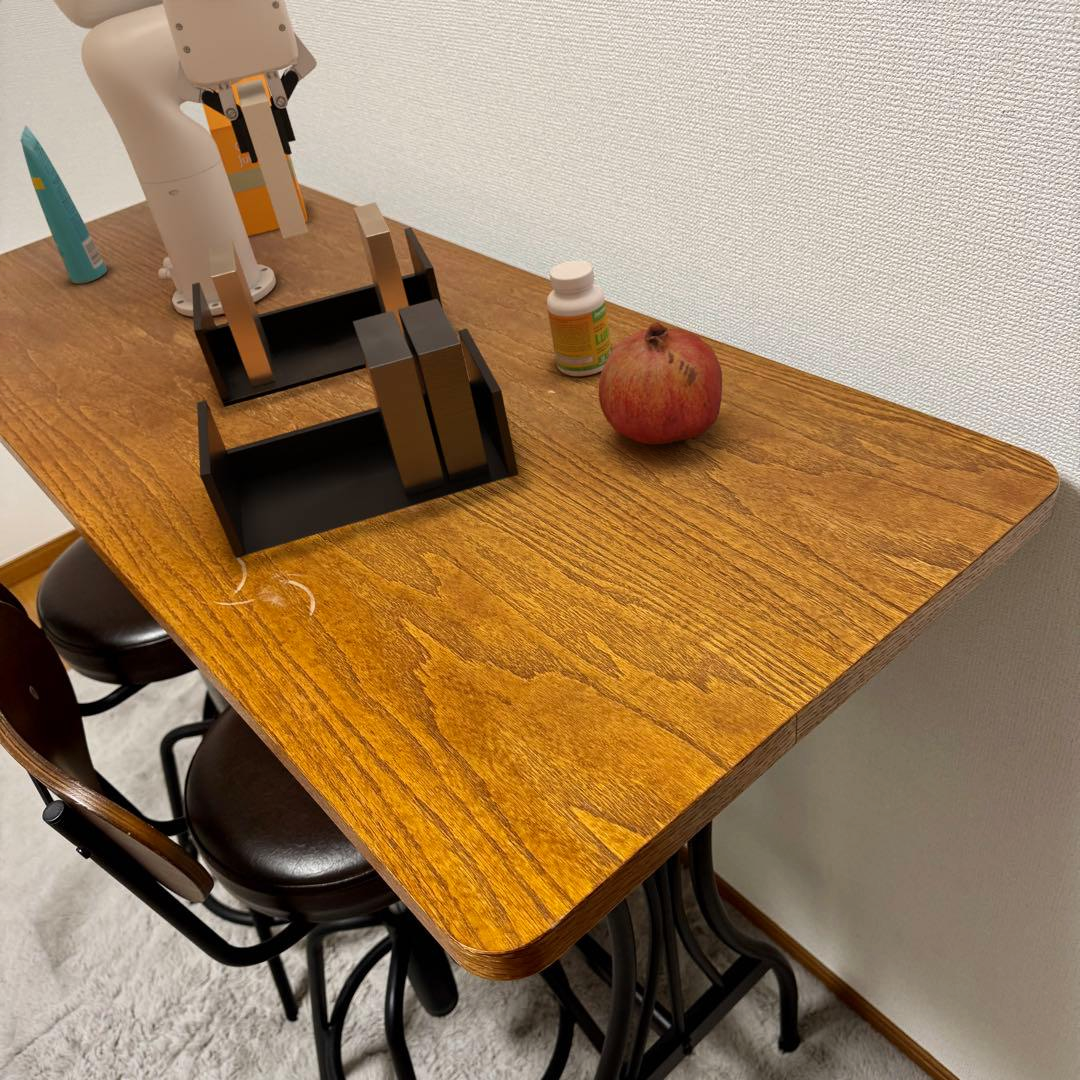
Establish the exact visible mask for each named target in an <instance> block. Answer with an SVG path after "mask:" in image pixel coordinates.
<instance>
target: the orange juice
mask: <svg viewBox="0 0 1080 1080" xmlns="http://www.w3.org/2000/svg"><path fill="white" fill-rule="evenodd" d="M258 79H262V82H263V85H264V89H265V92H266V95H267V98H268V101H269V105H270V106H272V105H271V102H270V98H271V96H272V95H271V92H270V89H269V86H268V83H267V80H266V78H265V75H264V74H261V75H257V76H252V77H248V78H244V79H242V80H241V81H239V82H237V83H235V84H233V85H231V86H232V90H233V94H234V97H235V101H236V104H237V105H239V106H240V107H241V104H240V100H239V95H238V91H237V86H236V85H237V84H241V83H245V82H249V81H254V80H258ZM216 92H218V90H216ZM201 105H202V108H203V111H204V115H205V118H206V122H207V125H208V126H207V127H208V130H209V133H210V135H211V136H212V137H213V139H214V141H215V143H216V145H217V148H218V150H219V153H220V156H221V160H222V162H223V165H224V168H225V171H226V174H227V177H228V180H229V183H230V186H231V189H232V192H233V195H234V198H235V201H236V204H237V207H238V209H239V212H240V215H241V218H242V221H243V224H244V227H245V230H246V233H247V236H248V237H249V236H254V235H258V234H263V233H267V232H271V231H276V230H278V229H279V230H280V227H279V224H278V221H277V218H276V215H275V211H274V208H273V205H272V202H271V199H270V196H269V193H268V190H267V187H266V183H265V180H264V177H263V174H262V171H261V168H260V165H259V162H258V161H257V163H252V161H251V158H250V155H249V152H247V153H243V154H241V152H240V149H239V146H238V142H237V139H236V136H235V133H234V130H233V127H232V124H231V121H230V120H228V119H227V118H226V117H225V116H224V115H222V114H220V113H219V112H217V111H215V110H214V109H212V108H210V107H209V106H207V105H205V104H202V103H201ZM241 110H242V109H241ZM285 157H286V161H287V164H288V167H289V170H290V174H291V177H292V180H293V184H294V187H295V190H296V194H297V197H298V200H299V203H300V207H301V210H302V213H303V217H304V220H305V223H307V222H308V221H309V219H308V215H307V209H306V204H305V200H304V198H303V194H302V192H301V188H300V184H299V180H298V177H297V174H296V171H295V167H294V163H293V160H292V155H291V154H289V155H287V154H285Z"/></svg>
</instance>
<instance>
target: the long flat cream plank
mask: <svg viewBox="0 0 1080 1080" xmlns="http://www.w3.org/2000/svg"><path fill="white" fill-rule="evenodd" d="M236 86H237V91H238V95H239V100H240V104H241V109H242V112H243V115H244V118H245V121H246V124H247V127H248V130H249V134H250V137H251V140H252V143H253V146H254V149H255V152H256V155H257V158H258V162H259V165H260V168H261V171H262V174H263V177H264V180H265V183H266V187H267V190H268V193H269V196H270V199H271V202H272V205H273V208H274V211H275V215H276V218H277V221H278V224H279V227H280V228H279V230H280V233H281V236H282V239H283V240H285V239H289V238H293V237H297V236H300V235H304V234H308V233H309V230H308V227H307V224H306V223H307V222H305V220H304V217H303V213H302V210H301V207H300V203H299V200H298V197H297V194H296V190H295V187H294V184H293V180H292V177H291V174H290V170H289V167H288V164H287V161H286V157H285V154H284V151H283V147H282V144H281V141H280V138H279V134H278V131H277V128H276V124H275V121H274V118H273V115H272V111H271V108H270V105H269V101H268V98H267V95H266V92H265V89H264V85H263V82H262V79H258V80H254V81H249V82H245V83H241V84H237V85H236Z"/></svg>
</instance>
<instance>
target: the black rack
mask: <svg viewBox="0 0 1080 1080" xmlns="http://www.w3.org/2000/svg"><path fill="white" fill-rule="evenodd" d="M442 307H443V306H442ZM442 307H441V305H440V303H439V301H438V299H434V300H431V301H427V302H423V303H420V304H416V305H412V306H408V307H405V308H401V309H398V312H399V316H400V320H401V324H402V328H403V332H404V335H405V338H404V335H403V333H402V331H401V328H400V326H399V324H398V321H397V319H396V317H395V314H394V312H393V311H390V312H386V313H382V314H379V315H375V316H371V317H368V318H364V319H360V320H356V321H353V324H354V327H355V331H356V334H357V337H358V341H359V344H360V348H361V351H362V355H363V358H364V362H365V365H366V368H365V369H366V372H367V375H368V378H369V382H370V387H371V388H372V392H373V395H374V399H375V402H376V407H372V408H369V409H366V410H362V411H359V412H354V413H352V414H348V415H345V416H341V417H337V418H333V419H330V420H326V421H322V422H319V423H316V424H313V425H309V426H305V427H303V428H298V429H295V430H291V431H288V432H284V433H280V434H277V435H273V436H270V437H266V438H263V439H259V440H255V441H252V442H249V443H244V444H241V445H238V446H234V447H231V448H227V447H226V445H225V443H224V441H223V438H222V436H221V433H220V431H219V428H218V426H217V423H216V421H215V418H214V416H213V413H212V410H211V409H210V406H209V403H208V401H207V400H206V399H205V400H201V401H197V402H196V410H197V411H196V413H197V433H198V434H197V435H198V436H197V437H198V439H197V440H198V461H199V476H200V477H199V478H200V480H201V482H202V484H203V486H204V488H205V490H206V493H207V495H208V498H209V500H210V502H211V505H212V507H213V509H214V511H215V514H216V516H217V518H218V521H219V523H220V525H221V528H222V530H223V532H224V534H225V538H226V539H227V542H228V544H229V546H230V548H231V550H232V553H233V555H234V557H235V559H238V558H241V557H245V556H247V555H252V554H255V553H258V552H262V551H265V550H268V549H272V548H276V547H278V546H282V545H285V544H288V543H292V542H295V541H298V540H302V539H306V538H309V537H312V536H316V535H319V534H323V533H325V532H329V531H332V530H336V529H339V528H343V527H347V526H349V525H353V524H357V523H359V522H362V521H366V520H369V519H374V518H377V517H380V516H383V515H387V514H391V513H394V512H397V511H401V510H403V509H408V508H411V507H414V506H417V505H421V504H425V503H428V502H431V501H434V500H438V499H441V498H444V497H447V496H451V495H455V494H458V493H462V492H465V491H469V490H472V489H475V488H478V487H482V486H485V485H489V484H492V483H494V482H495V483H496V482H499V481H502V480H504V479H505V480H506V479H509V478H512V477H515V476H519V470H518V465H517V460H516V456H515V455H516V454H515V450H514V446H513V441H512V436H511V431H510V426H509V420H508V415H507V411H506V407H505V401H504V397H503V393H502V392H503V390H502V389H501V387H500V385H499V383H498V381H497V380H496V378H495V376H494V374H493V372H492V370H491V369H490V367H489V365H488V364H487V362H486V360H485V358H484V356H483V354H482V353H481V350H480V349H479V347H478V345H477V343H476V341H475V340H474V338H473V336H472V335H471V333H470V331H469V329H468V328H463V329H460V330H458V335H457V334H456V331H455V330H454V328H453V325H452V324H451V322H450V320H449V318H448V317H447V314H446V313H445V311H444V308H443V309H442ZM458 336H459V338H458ZM405 339H406V340H405Z"/></svg>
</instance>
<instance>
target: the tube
mask: <svg viewBox="0 0 1080 1080" xmlns="http://www.w3.org/2000/svg"><path fill="white" fill-rule="evenodd" d="M19 141H20V143H21V146H22V147H21V148H22V152H23V155H24V159H25V163H26V166H27V169H28V172H29V176H30V179H31V182H32V186H33V189H34V191H35V194H36V196H37V200H38V202H39V205H40V208H41V210H42V213H43V215H44V218H45V221H46V223H47V226H48V228H49V232H50V233H51V237H52V238H53V241H54V244H55V246H56V248H57V251H58V253H59V255H60V256H59V257H60V258H61V261H62V263H63V266H64V269H65V270H66V273H67V274H68V277H69V280H70V281H71V282H72V283H74V284H86V283H89V282H93V281H95V280H97V279H99V278H101V277H102V276H104V275H105V274H106V273H107V272H108V268H107V266H106V264H105V261H104V260H103V258H102V255H101V254H100V252H99V250H98V247H97V246H96V243H95V242H94V240H93V238H92V236H91V234H90V232H89V230H88V228H87V226H86V224H85V222H84V220H83V218H82V216H81V214H80V212H79V210H78V209H77V206H76V204H75V203H74V201H73V199H72V197H71V195H70V193H69V191H68V190H67V188H66V186H65V184H64V182H63V181H62V179H61V177H60V175H59V173H58V171H57V169H56V168H55V166H54V165H53V163H52V161H51V159H50V158H49V156H48V154H47V153H46V151H45V149H44V148H43V146H42V145H41V143H40V142H39V140H38V139H37V137H36V135H34V132H32V131H31V129H30V128H29V127H28V126H27V125H24V127H23V129H22V133H21V135H20V139H19Z"/></svg>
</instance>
